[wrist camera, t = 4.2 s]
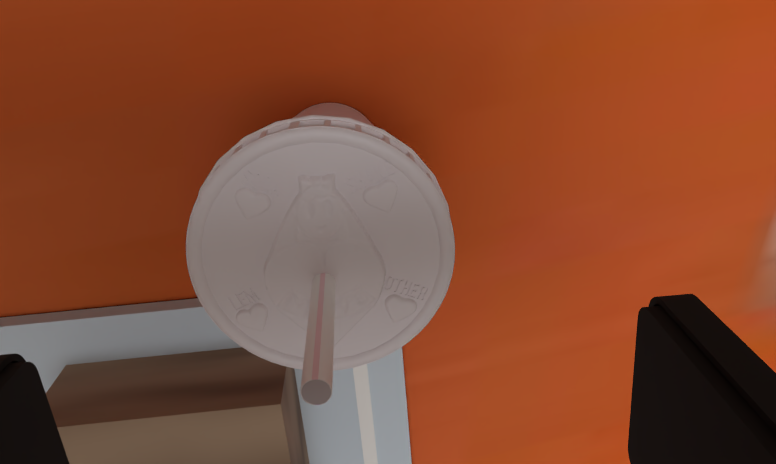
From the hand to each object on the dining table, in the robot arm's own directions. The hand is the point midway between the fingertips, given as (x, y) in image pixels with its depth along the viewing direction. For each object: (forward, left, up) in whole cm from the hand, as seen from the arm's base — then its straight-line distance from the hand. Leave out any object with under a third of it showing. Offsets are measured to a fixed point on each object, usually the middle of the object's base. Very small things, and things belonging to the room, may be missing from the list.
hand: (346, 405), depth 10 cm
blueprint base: (+12, -8, -15) cm, 21 cm away
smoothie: (0, -1, -15) cm, 15 cm away
